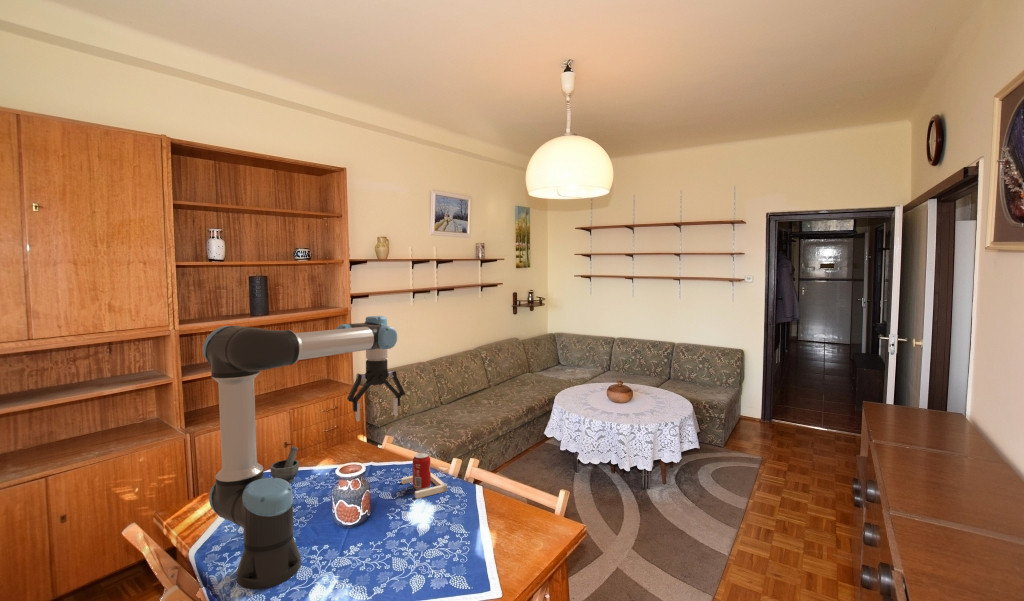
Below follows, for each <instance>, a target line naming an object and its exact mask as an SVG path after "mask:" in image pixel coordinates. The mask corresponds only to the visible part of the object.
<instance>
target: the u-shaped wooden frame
mask: <svg viewBox="0 0 1024 601" xmlns="http://www.w3.org/2000/svg"><path fill="white" fill-rule="evenodd" d="M400 481H401V484H402V485H406V484H409V482H410V483H413V475H409V476H405V477H402V478H401V480H400ZM431 482H432V483H433V484H434V485H435V486H432V487H428V488H427V489H423V490H415V491H414V497H415V499H416V500H417V499H422V498H425V497H429V496H432V495H433V496H434V495H436V494H441V493H444V492H448V485H447V484H446V483H445V482H444V481H442V480H441V479H440V478H438V476H436V475H435V474H434V473H432V472H431ZM405 483H406V484H405Z"/></svg>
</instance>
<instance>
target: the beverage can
mask: <svg viewBox="0 0 1024 601" xmlns="http://www.w3.org/2000/svg"><path fill="white" fill-rule="evenodd" d="M431 473H432V471H431V457H430V455H429V453H427V452H418V453H415V454H414V457H413V458H412V476H413V482H412V486H413V488H414V489H415V491H419V490H423V489H427V488H430V486H431V485H432V484H431V482H432V481H431Z"/></svg>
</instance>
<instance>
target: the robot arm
mask: <svg viewBox="0 0 1024 601" xmlns="http://www.w3.org/2000/svg"><path fill="white" fill-rule="evenodd" d="M397 343H398V333H397V330H396V328H394V327H393V326H389V325H388V318H387V317H386V316H383V315H373V316H372V315H370V316H369V315H368V316H366V317H365V321H364V322H358V323H355V322H354V323H346V324H344V323H343V324H340V325H338V326H337V327H336V329H327V330H326V329H325V330H317V331H316V330H315V331H305V332H294V331H293V330H291V329H286V330H275V329H265V328H259V327H249V326H248V327H247V326H241V325H231V324H230V325H226V326H225V325H224V326H220V327H218V328H216V329H214V330H213V331H211V333H209V334H208V335H207V337H206V338H205V340H204V342H203V346H202V354H203V357H204V360H206V362H207V363H209V364H210V369H211V370H210V372H211V373H210V374H211V375H210V376H211V379H213V380H214V381H215V382H217V384H218V404H219V410H218V411H219V429H220V430H219V432H220V452H221V453H220V454H221V456H220V457H221V468H220V470H219V471H218V472H217V473H216V474H215V482H214V484H213V485H212V486H211V488H210V491H209V495H208V496H209V497H208V501H209V505H210V508H211V509H212V511H213V512H214V513H215V514H217V516H219V517H220V518H222V519H224V520H226V521H228V522H230V523H233V524H235V525H237V526H238V527H241V528H242V529H243V547H244V548H243V552H242V555H241V557H240V561H239V564H238V567H237V570H236V579H237V580H236V581H237V584H238V585H239V586H240V587H241V588H243V589H246V590H257V591H258V590H264V589H269V588H270V589H271V588H273V587H276V586H279V585H282V584H283V583H285V582H287V581H289V579H291V578H293V577H294V576H295V575H297V573H298V571H299V570H300V568H301V565H302V557H301V553H300V551H299V548H298V546H297V543H296V541H295V538H294V503H293V502H294V495H293V487H292V485H291V483H290V484H289V483H288V482H287V481H286V480H283V479H280V478H273V477H265V476H264V466H263V465H262V464H260V463H259V462H258V457H257V456H258V453H257V452H258V451H257V426H256V424H257V423H256V422H257V421H256V396H255V379H256V378H257V377H258V375H260V373H261V371H266V370H267V371H268V370H272V369H275V368H277V369H278V368H281V367H286V366H292V365H295V364H296V363H297V362H298V361H301V360H303V361H304V360H309V359H316V358H321V357H328V356H329V357H330V356H335V355H341V354H343V355H344V354H348V353H355V352H356V353H357V352H362V351H365V359H366V360H365V373H362V374H361V373H356V378H355V381H354V383H353V385H352V388H351V390H350V391H349V394H348V396H347V398H346V399H347V401H348V402H351V403H352V411H353V412H355V420H356V421H357V422H360V420H361V417H360V416H361V415H360V414H361V413H360V411H361V410H360V409H361V406H360V404H361V402H359V400H360V399H361V398H362V396H363V395H364V394H365V393H366V391H367V390H368V389H369V388H370V387H371V386H382V385H383V384H384V385H385V387H387V388H388V390H389V391H390V392H391V393H392V394H393V395H394V396H393V400H392V401H393V402H392V403H393V410H392V411H393V415H394V416H395V417H398V415H399V414H398V412H399V410H398V409H399V407H400V406H401V398H402V397H403V396H405V395H406V392H405V390H404V388H403V386H402V384H401V382H400V381H399V379H398V376H397V371H395V370H391V371H388V370H389V369H388V368H389V367H388V359H387V358H388V350H391V349H393V348H394V347H395V346H396V344H397ZM388 377H390V378H392V380H393V383H394V385H395V387H396V389H397V390H398V391H397V390H396V389H395V388H394V387H393V386H392V384H391V383H390V382H389V381H388V380H387V379H388ZM364 378H365V380H366V381H365V382H364V384H363V385H362V387H361V388H360V389H359V387H360V384H361V383H362V381H363V380H364ZM358 389H359V390H358Z"/></svg>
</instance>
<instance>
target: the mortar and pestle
mask: <svg viewBox="0 0 1024 601" xmlns="http://www.w3.org/2000/svg"><path fill="white" fill-rule="evenodd" d="M289 450H290V451H289V452H288V456H287V458H286V459H283V460H278V461H276V462H274V463H272V464H270V466H269V467H270V469H269V470H270V475H271V478H272V479H274V478H280V479H283V480H286V481H287V482H288V483H289V484H290V485H291V484H292V483H293V482H294V481H295V477H296V476H297V474H298V472H299V468H300V460H297V459H296V456H297V453H298V450H299V448H298V447H296V446H291V447H290V449H289Z"/></svg>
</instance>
